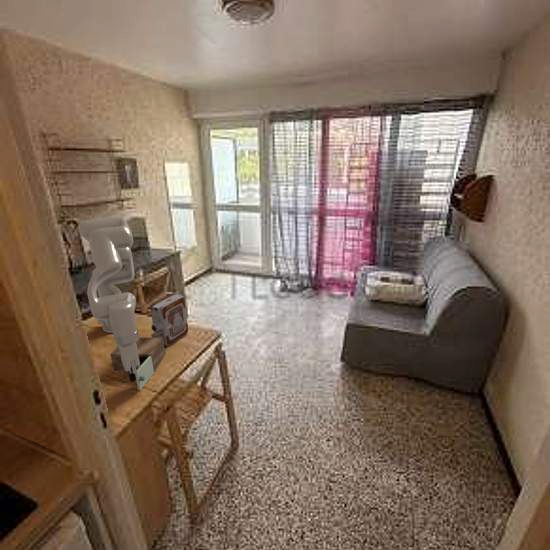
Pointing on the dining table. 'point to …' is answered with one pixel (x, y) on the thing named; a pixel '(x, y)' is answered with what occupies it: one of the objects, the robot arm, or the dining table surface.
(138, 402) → the dining table surface
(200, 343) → the dining table surface
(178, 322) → the cine camera
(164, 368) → the dining table surface
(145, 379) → the case door
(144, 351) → the camera case
